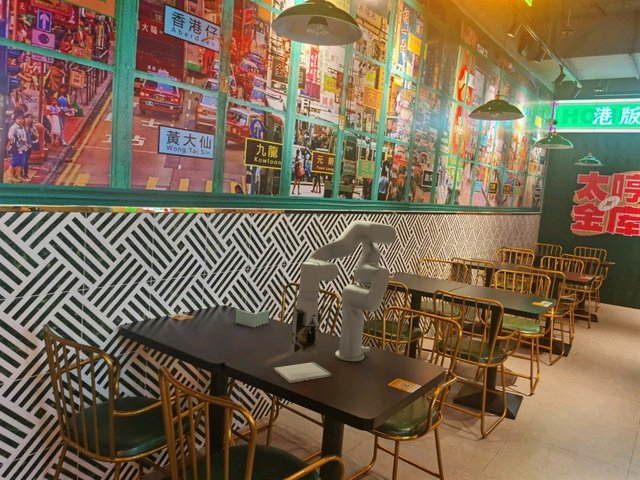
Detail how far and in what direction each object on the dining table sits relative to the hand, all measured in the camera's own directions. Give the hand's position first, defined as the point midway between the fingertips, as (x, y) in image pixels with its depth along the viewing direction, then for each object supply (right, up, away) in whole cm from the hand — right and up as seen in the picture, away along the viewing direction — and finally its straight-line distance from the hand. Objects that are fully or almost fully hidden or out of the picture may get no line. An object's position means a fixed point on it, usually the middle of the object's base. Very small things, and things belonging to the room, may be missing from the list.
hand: (304, 339), depth 182 cm
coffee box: (-1, -5, 0) cm, 5 cm away
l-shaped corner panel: (-30, -6, +65) cm, 72 cm away
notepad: (-1, -13, +1) cm, 13 cm away
